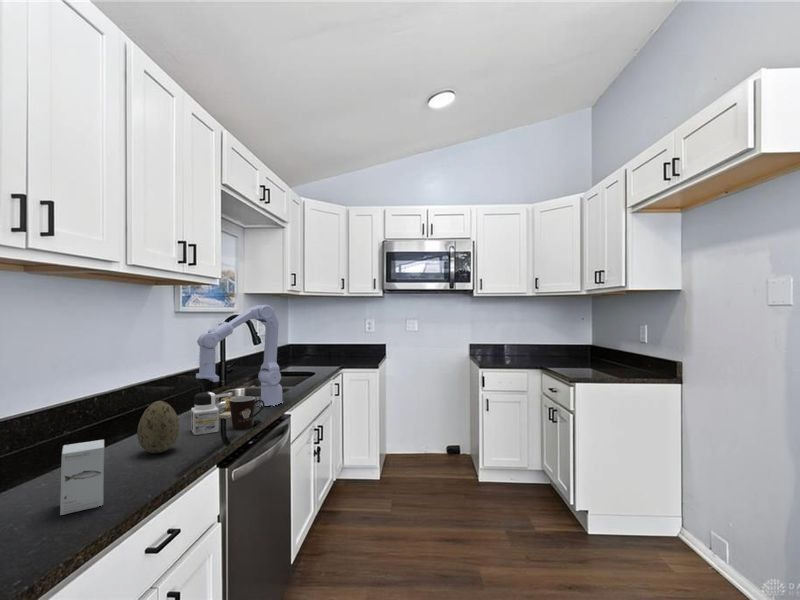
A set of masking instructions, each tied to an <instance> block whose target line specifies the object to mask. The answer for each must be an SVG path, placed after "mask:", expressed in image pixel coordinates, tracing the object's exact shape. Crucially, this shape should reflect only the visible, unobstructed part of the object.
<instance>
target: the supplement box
mask: <svg viewBox="0 0 800 600" xmlns="http://www.w3.org/2000/svg"><path fill="white" fill-rule="evenodd" d="M104 467H105V439H98V440H91V441H84V442H77V443H76V442H75V443H71V444H64V445H62V450H61V467H60V497H59V498H60V500H59V502H60V504H59V507H60V510H59V516H61V515H62V516H63V515H67V514H72V513H77V512H80V511H84V510H85V511H86V510H89V509H95V508H100V507H99V506H101V507H103V506H104V485H105V483H104V474H105V471H104V470H105V469H104ZM102 505H103V506H102Z"/></svg>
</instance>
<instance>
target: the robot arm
mask: <svg viewBox="0 0 800 600" xmlns="http://www.w3.org/2000/svg"><path fill="white" fill-rule="evenodd" d="M249 320H257V321H258V322H260V323H261V324H262V325H264V327H265V331H264V332H265V333H264V352H263V362H262V364H261V365H260V371H259V372H258V376H257V377H258V380H259V381H260V400H262V401H264V406H269V405H273V406H274V407H276V406H275V405H277V406H279V405H278V404H280V403H282V404H284V403H283V402H284V401H283V387H282V385H281V384H280V381H281V380H282V373H281V372H280V365H279V364H278V362H277V358H278V343H279V340H278V339H279V324H280V323H279V319H278V318H277V315H276V310H275V309H274V308H273V307H272V306H271V305H269V304H255V305H253V306H252V307H249V308H247V309H246V310H244V311H243V312H242V313H240V314H239V315H236V317H235V318H233V319H232V320H229V322H227V321H223V322H222V321H220V322H218V323H217V325H216V326H215V327H213V328H211V329H208V330H207V333H206V332H203V333H202V334H200V335H199V336H198V339H197V340H196V343H197V345H198V346H199V359H198V360H199V363H198V364H199V367H198V368H199V369H198V370H199V371H198V373H195V378H196V379H201V380H198V381H197V382H198V385H199V387H200V389H201V393H203V392H212V391H213V388H214V387H215V384H216V382H217V383H218V382H220V376H219V375H217V374H216V347H217V346H218V343H220V342H221V341H222V340H224V339H226V338H228V337H229V336H230V335H232V334H233V333H234V332H233V331H234V329H236V328H237V327H239V326H241V325H243V324H244V323H246V322H248V321H249ZM212 393H213V392H212ZM260 404H261V405H263V403H262V402H261V401H260ZM280 405H281V404H280Z"/></svg>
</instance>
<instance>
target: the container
mask: <svg viewBox="0 0 800 600" xmlns="http://www.w3.org/2000/svg"><path fill="white" fill-rule="evenodd" d="M215 395H216V394H215V393H214V392H199V393H196V394H195V395H194V407H191V410H190V411H191V414H190V415H191V416H190V418H191V419H190V421H191V422H190V424H191V425H190V429H191V431H192V434H193V436H196V435H197V436H198V435H204V434H210V433H211V434H212V433H216V432H217V433H218V432H219V431H220V418H219V409H218V408H217V407H216V406H215V403H216V399H215Z"/></svg>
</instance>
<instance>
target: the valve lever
mask: <svg viewBox="0 0 800 600" xmlns="http://www.w3.org/2000/svg"><path fill="white" fill-rule="evenodd" d="M228 396H231V397H233V396H234V395H233V392H232V391H231V392H224V393H219V394H215V400H216V399H218V398H225V397H228Z"/></svg>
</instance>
